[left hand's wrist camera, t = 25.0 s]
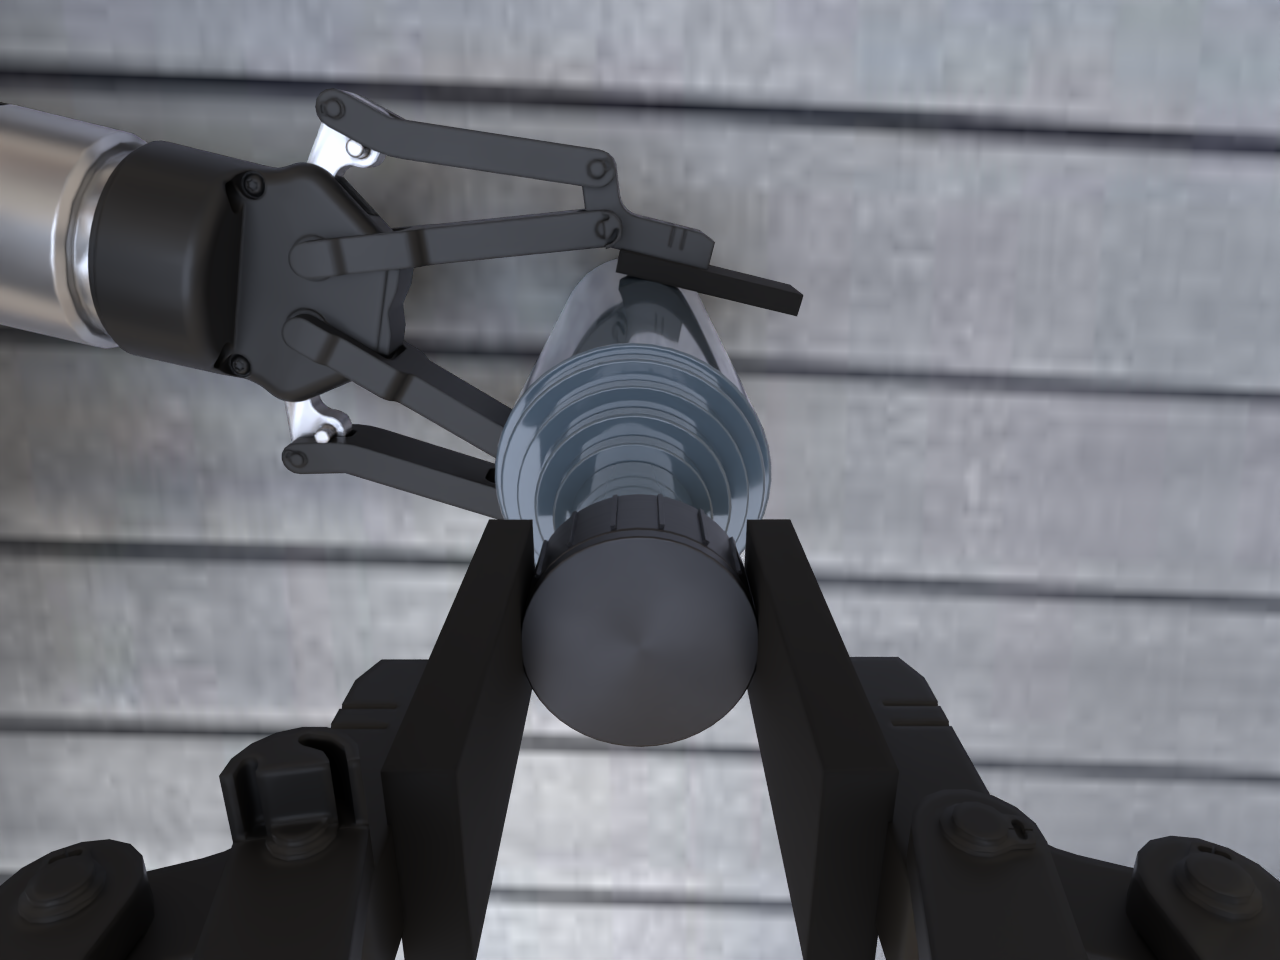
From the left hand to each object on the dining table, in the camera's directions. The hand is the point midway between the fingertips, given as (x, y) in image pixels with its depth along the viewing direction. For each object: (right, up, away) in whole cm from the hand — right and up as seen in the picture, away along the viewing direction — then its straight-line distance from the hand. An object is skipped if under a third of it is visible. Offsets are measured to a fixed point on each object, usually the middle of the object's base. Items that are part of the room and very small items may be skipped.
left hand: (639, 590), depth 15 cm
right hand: (+5, +5, +17) cm, 18 cm away
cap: (0, -1, -1) cm, 2 cm away
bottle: (0, +9, +23) cm, 24 cm away
